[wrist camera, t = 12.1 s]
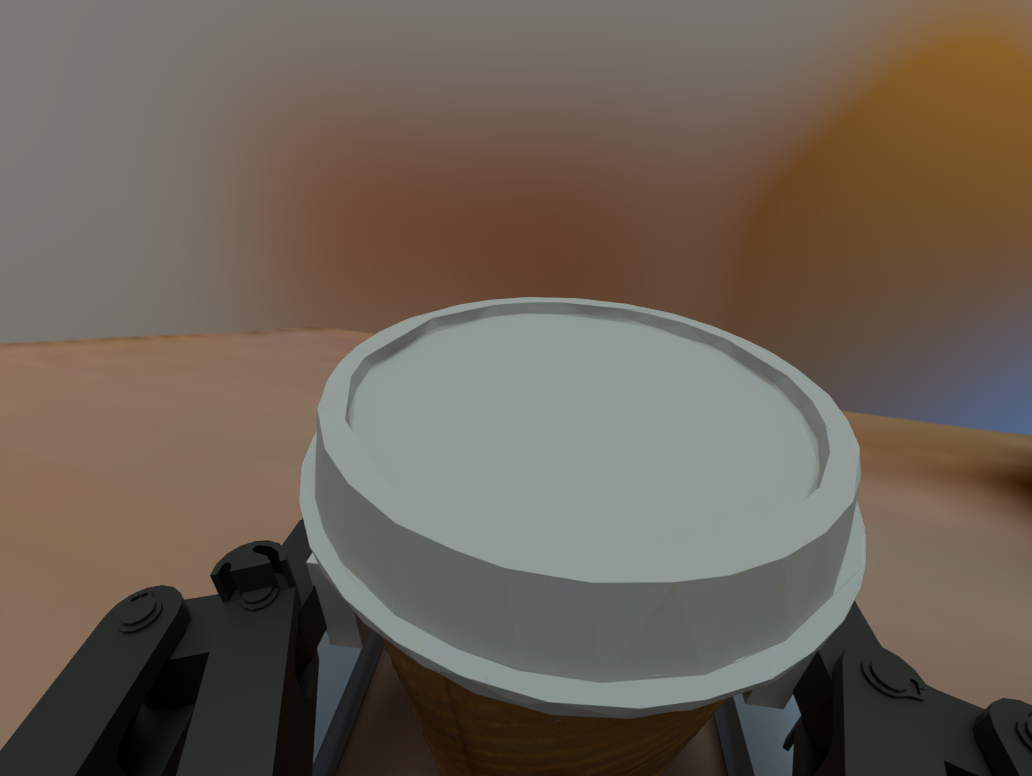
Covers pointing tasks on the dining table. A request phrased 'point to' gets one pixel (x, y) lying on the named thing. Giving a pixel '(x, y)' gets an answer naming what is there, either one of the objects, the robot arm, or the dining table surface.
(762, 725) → the two-bay frame
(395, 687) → the dining table surface
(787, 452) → the disposable coffee cup
